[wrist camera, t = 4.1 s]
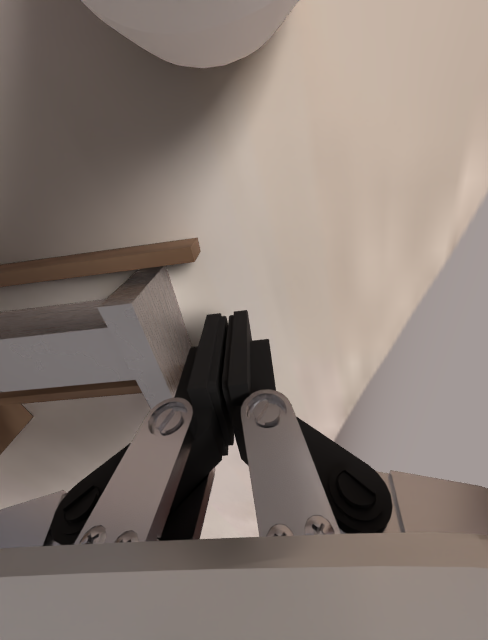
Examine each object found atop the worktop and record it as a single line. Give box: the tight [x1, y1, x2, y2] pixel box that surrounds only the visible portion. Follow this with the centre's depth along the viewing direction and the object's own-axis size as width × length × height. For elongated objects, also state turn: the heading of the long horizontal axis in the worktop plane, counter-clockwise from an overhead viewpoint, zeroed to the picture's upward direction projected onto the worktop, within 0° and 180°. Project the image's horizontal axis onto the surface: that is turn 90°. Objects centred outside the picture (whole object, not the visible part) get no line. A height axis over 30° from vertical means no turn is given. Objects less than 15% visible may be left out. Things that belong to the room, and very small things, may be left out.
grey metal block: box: [0, 266, 192, 409], centre depth 11 cm, size 11×6×4 cm, turn 98°
